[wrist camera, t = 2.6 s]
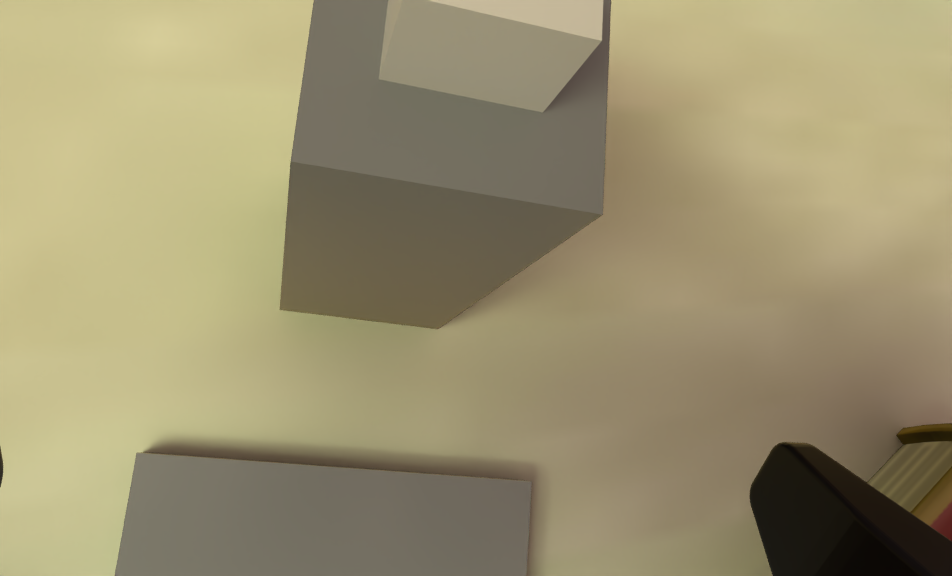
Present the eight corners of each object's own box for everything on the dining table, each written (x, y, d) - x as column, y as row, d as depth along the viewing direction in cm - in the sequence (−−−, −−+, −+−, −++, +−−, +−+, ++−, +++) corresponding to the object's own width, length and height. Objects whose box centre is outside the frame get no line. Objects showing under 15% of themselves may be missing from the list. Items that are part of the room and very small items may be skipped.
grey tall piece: (449, 197, 22) (679, -120, 10) (437, 328, 21) (675, 164, 9) (298, 171, 21) (341, -222, 9) (280, 309, 20) (296, 90, 8)
